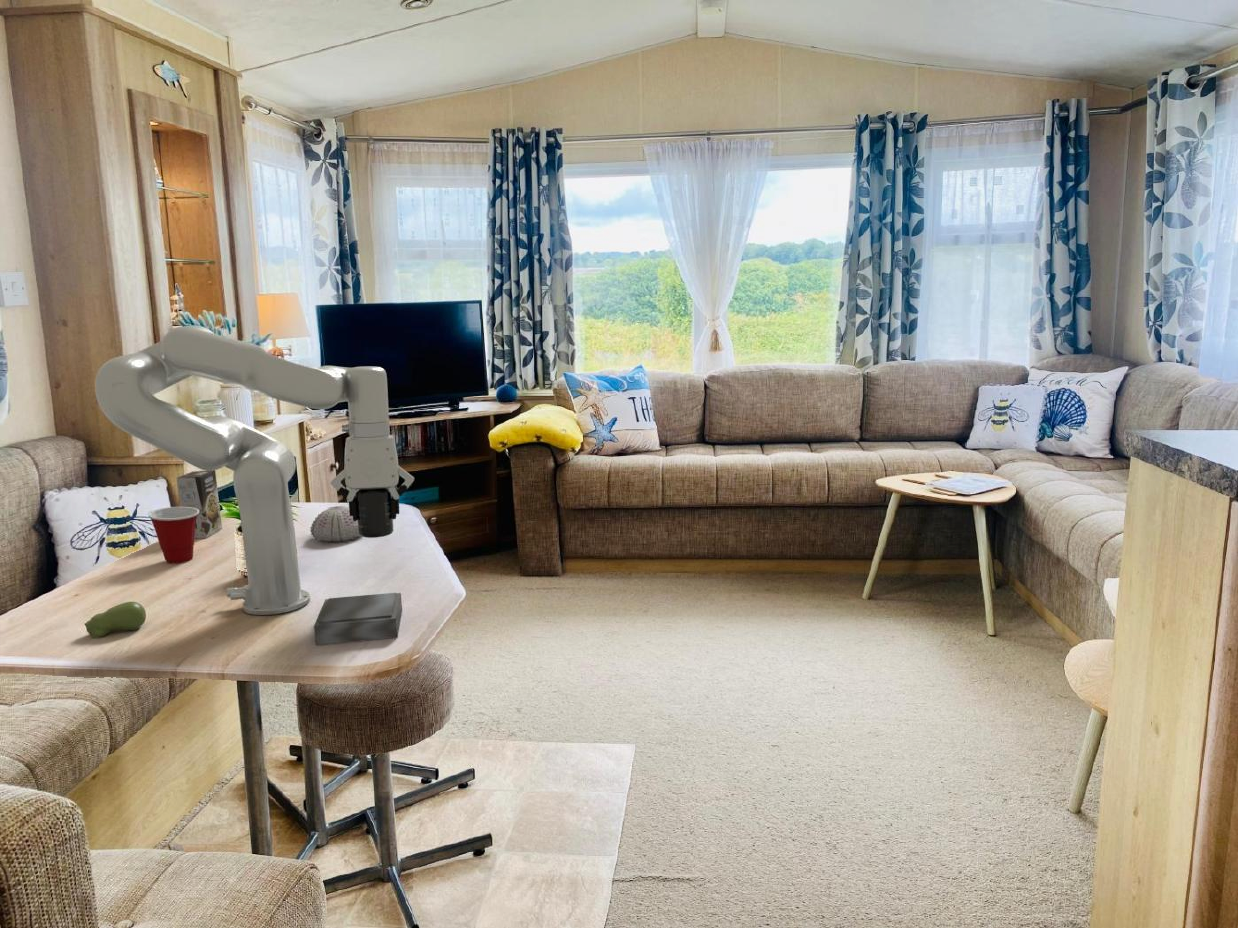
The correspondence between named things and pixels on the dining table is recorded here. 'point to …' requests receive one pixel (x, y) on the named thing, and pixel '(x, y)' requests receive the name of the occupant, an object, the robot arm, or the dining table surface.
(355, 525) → the sea urchin shell
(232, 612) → the dining table surface
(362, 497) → the supplement bottle
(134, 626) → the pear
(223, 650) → the dining table surface
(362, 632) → the grey square block
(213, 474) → the coffee box
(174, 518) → the plastic cup
